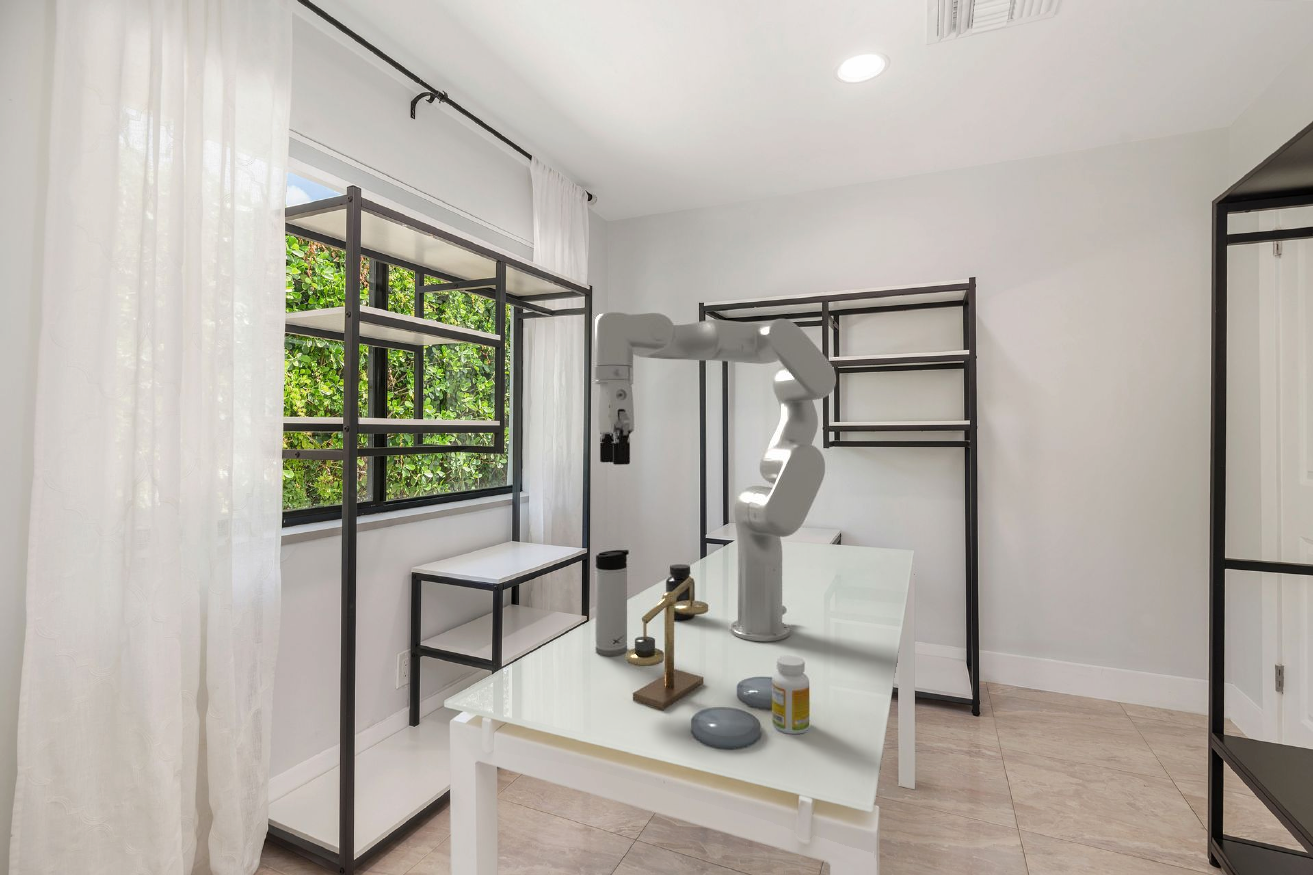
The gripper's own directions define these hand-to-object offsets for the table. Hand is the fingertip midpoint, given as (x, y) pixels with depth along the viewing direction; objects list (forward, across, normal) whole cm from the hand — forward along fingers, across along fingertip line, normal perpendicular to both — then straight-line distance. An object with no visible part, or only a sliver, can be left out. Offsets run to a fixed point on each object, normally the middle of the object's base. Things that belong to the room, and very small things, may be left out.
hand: (614, 463), depth 117 cm
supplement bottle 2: (+38, -38, -16) cm, 56 cm away
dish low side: (+37, -36, -6) cm, 52 cm away
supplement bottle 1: (+38, +16, -21) cm, 46 cm away
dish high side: (+37, -28, -18) cm, 50 cm away
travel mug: (+38, 0, 0) cm, 38 cm away
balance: (+37, -21, -4) cm, 43 cm away
